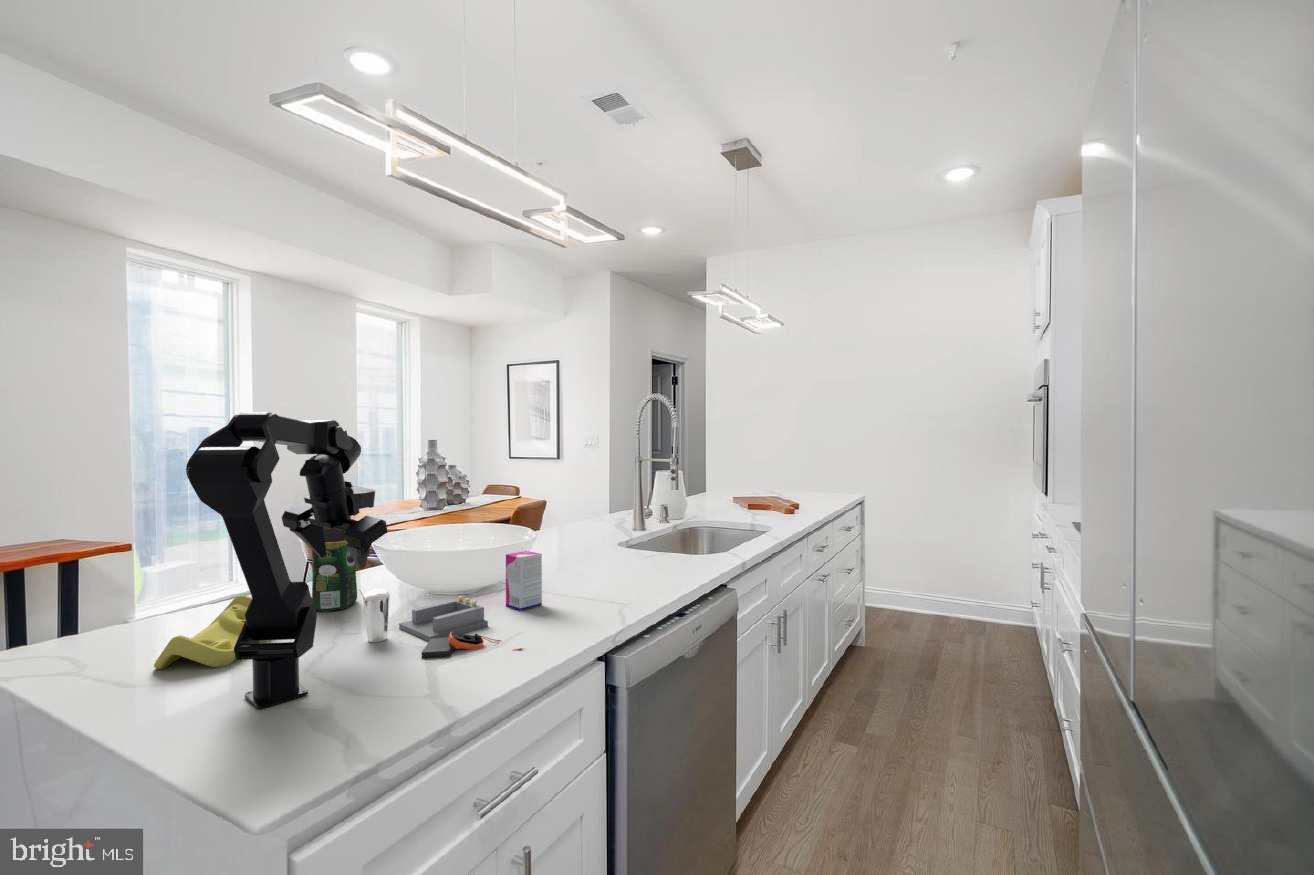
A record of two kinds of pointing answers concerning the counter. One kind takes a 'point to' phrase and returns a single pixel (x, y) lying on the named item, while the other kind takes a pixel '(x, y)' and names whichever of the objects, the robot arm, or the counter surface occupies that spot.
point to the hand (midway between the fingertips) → (342, 562)
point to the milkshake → (376, 614)
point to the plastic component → (210, 639)
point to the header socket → (445, 619)
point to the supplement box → (523, 580)
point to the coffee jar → (334, 574)
